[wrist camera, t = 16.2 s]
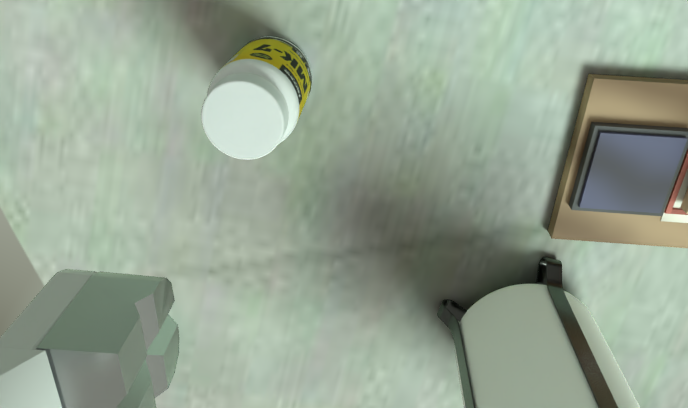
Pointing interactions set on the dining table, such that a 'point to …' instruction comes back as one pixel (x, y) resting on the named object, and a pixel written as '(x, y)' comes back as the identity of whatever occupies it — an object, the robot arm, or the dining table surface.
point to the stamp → (685, 203)
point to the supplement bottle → (256, 98)
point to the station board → (626, 164)
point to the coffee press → (534, 349)
